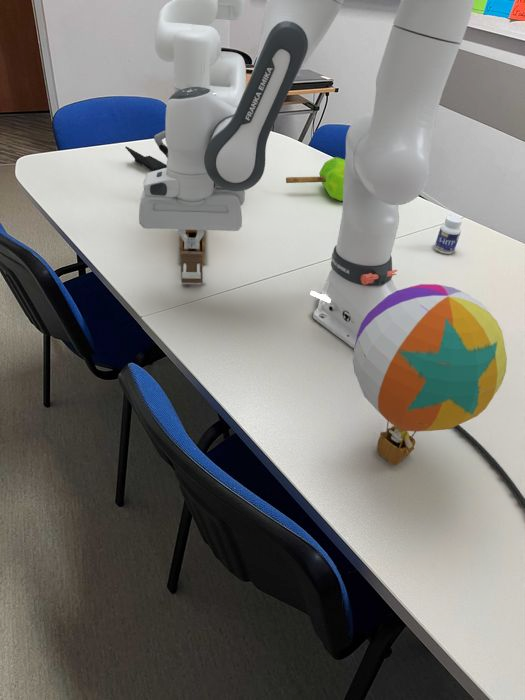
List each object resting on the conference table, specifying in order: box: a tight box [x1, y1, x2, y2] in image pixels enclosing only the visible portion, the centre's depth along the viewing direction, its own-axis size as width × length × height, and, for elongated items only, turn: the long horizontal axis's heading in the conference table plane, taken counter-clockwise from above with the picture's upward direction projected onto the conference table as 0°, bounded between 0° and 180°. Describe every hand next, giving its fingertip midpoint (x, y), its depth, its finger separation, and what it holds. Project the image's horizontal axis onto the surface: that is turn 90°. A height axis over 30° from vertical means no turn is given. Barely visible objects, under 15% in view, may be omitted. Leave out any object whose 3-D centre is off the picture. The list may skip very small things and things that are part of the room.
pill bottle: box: [434, 215, 463, 255], centre depth 137 cm, size 5×5×9 cm
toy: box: [352, 283, 508, 467], centre depth 73 cm, size 20×20×30 cm
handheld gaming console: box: [125, 146, 167, 172], centre depth 171 cm, size 12×7×10 cm
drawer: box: [180, 232, 204, 284], centre depth 118 cm, size 22×5×7 cm, turn 5°
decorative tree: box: [285, 156, 345, 202], centre depth 161 cm, size 18×10×30 cm
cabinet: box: [179, 230, 206, 266], centre depth 128 cm, size 18×6×9 cm, turn 5°
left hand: (193, 174), depth 124 cm, fingers open, 9 cm apart
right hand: (191, 247), depth 107 cm, fingers closed
